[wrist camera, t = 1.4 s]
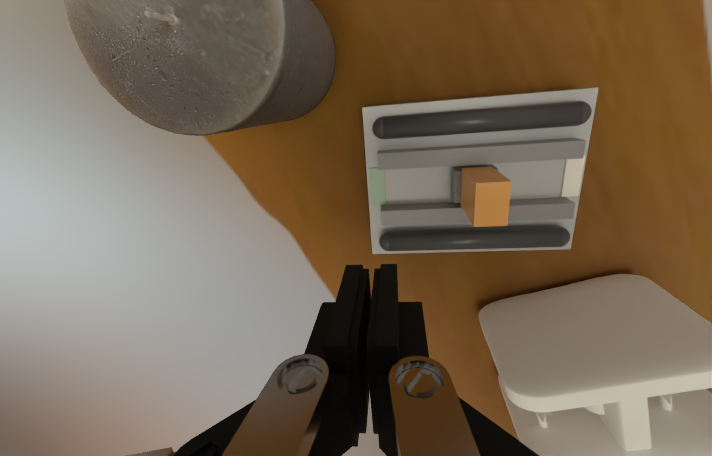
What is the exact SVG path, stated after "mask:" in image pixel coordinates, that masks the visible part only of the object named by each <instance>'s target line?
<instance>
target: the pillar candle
mask: <svg viewBox="0 0 712 456" xmlns="http://www.w3.org/2000/svg"><path fill="white" fill-rule="evenodd" d="M64 1H65V4H66V9H67V14H68V18H69V21H70V26H71V28H72V31H73V33H74V36H75V38H76V41H77V43H78V45H79V47H80V50H81V52H82V54H83V55H84V57H85V59H86V61H87V63H88V65H89V67H90V69H91V70H92V71H93V73H94V74H95V75H96V77H97V79H98V81H99V82H100V84H101V85H102V86H103V87H104V88H106V90H107V91H108V92H109V93H110V94H111V95H112V96H113V97H114V98H115V99H116V100H117V101H118V102H119V103H121V105H122V106H124V107H125V108H126V109H127V110H128V111H130V112H131V113H132V114H134V115H135V116H137V117H139V118H140V119H142V120H144V121H145V122H147V123H149V124H151V125H153V126H156V127H158V128H161V129H164V130H167V131H171V132H173V133H177V134H184V135H197V136H198V135H211V134H217V133H222V132H229V131H234V130H239V129H243V128H248V127H255V126H259V125H266V124H272V123H277V122H281V121H288V120H292V119H296V118H298V117H301V116H303V115H305V114H307V113H308V112H310V111H311V110H312V109H314V108H315V107H316V106H317V105H318V104H319V103H320V102H321V100H322V99H323V98H324V96H325V95H326V93H327V91H328V90H329V88H330V85H331V82H332V79H333V75H334V70H335V46H334V41H333V37H332V34H331V31H330V28H329V26H328V24H327V22H326V21H325V19H324V17H323V15H322V14H321V12H320V11H319V10H318V8H317V7H316V6H315V4H314V3H313V2H312V0H64Z"/></svg>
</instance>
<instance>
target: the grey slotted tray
mask: <svg viewBox="0 0 712 456" xmlns="http://www.w3.org/2000/svg"><path fill="white" fill-rule="evenodd" d="M597 94H598V88H580V89H566V90H554V91H542V92H530V93H518V94H506V95H494V96H483V97H471V98H459V99H447V100H435V101H423V102H411V103H399V104H387V105H375V106H365V107H362V112H363V126H364V140H365V155H366V169H367V183H368V198H369V212H370V227H371V241H372V254H394V253H435V252H476V251H517V250H557V249H571V244H572V238H573V232H574V226H575V221H576V215H577V209H578V203H579V198H580V192H581V186H582V180H583V175H584V169H585V163H586V157H587V152H588V146H589V140H590V134H591V129H592V123H593V117H594V111H595V106H596V100H597ZM485 165H494V166H495V167H496V168H498V172H499V173H501V174H502V175H504V176H505V177H506V178H508V179H509V180H510V181H512V182H511V193H510V203H509V214H508V225H507V226H487V227H473V225H472V223H471V222H470V220H469V218H468V217H467V215H466V213H465V212H464V210H463V208H462V207H461V203H453V201H452V199H451V172H452V167H467V166H485Z"/></svg>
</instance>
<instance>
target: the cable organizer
mask: <svg viewBox="0 0 712 456" xmlns="http://www.w3.org/2000/svg"><path fill="white" fill-rule="evenodd" d="M478 317H479V321H480V324H481V328H482V331H483V333H484V336H485V339H486V341H487V344H488V347H489V349H490V352H491V355H492V357H493V360H494V363H495V365H496V368H497V371H498V373H499V376H498V381H499V385H500V388H501V392H502V395H503V397H504V400H505V403H506V406H507V408H508V411H509V414H510V417H511V419H512V422H513V425H514V428H515V430H516V433H517V436H518V439H519V441H520V442H521V443H523V444H524V445H525V446H527V447H528V448H530V449H531V450H532V451H534V452H535V453H536V454H538V455H539V456H712V394H711V393H710V392H709V391H708V390H707V389H708V388H712V324H711V323H710V322H709V321H707V320H706V319H704V318H703V317H702V316H700V315H699V314H697V313H696V312H695V311H693V310H692V309H690V308H689V307H688V306H686V305H685V304H683V303H682V302H681V301H679V300H678V299H676V298H675V297H674V296H672V295H671V294H669V293H668V292H667V291H665V290H664V289H662V288H661V287H660V286H658V285H657V284H655V283H654V282H653V281H651V280H650V279H648V278H646V277H643V276H639V275H633V274H616V275H609V276H604V277H597V278H593V279H589V280H585V281H581V282H576V283H572V284H569V285H565V286H560V287H556V288H552V289H547V290H543V291H538V292H534V293H530V294H523V295H519V296H514V297H510V298H506V299H501V300H498V301H495V302H492V303H490V304H488V305H486V306H485V307H483V308H482V309H481V310H480V312H479V315H478Z"/></svg>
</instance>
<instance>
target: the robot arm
mask: <svg viewBox="0 0 712 456" xmlns="http://www.w3.org/2000/svg"><path fill="white" fill-rule="evenodd" d="M707 390H708V391H709V392H710V393H711V394H712V388H708V389H707ZM369 391H370V397H371V408H372V420H373V431H374V434H379V448H380V449H381V450H382V451H383V452H384V453H385V454H386V455H387V456H539V455H538V454H536V453H535V452H534V451H532V450H531V449H530V448H528V447H527V446H525V445H524V444H523V443H521V442H520V441H518V440H517V439H516V438H514V437H513V436H512V435H510V434H509V433H507V432H506V431H505V430H503V429H502V428H501V427H499V426H498V425H496V424H495V423H494V422H492V421H491V420H489V419H488V418H487V417H485V416H484V415H483V414H481V413H480V412H478V411H477V410H476V409H474V408H473V407H472V406H470V405H469V404H467V403H466V402H465V401H463V400H462V399H461V398H459V397H458V396H457V393H456V391H455V388H454V386H453V383H452V380H451V378H450V375H449V374H448V372H447V370H446V369H445V368H444V367H443V366H442V365H441V364H440V363H439V362H437V361H435V360H433V359H431V358H429V354H428V346H427V339H426V331H425V324H424V316H423V309H422V302H398V281H397V264H381V269H375V271H374V280H373V289H372V298H371V293H370V280H369V269H363V266H362V265H346V267H345V271H344V274H343V278H342V282H341V285H340V289H339V292H338V296H337V299H336V302H332V303H331V302H324V303H322V305H321V307H320V310H319V313H318V316H317V319H316V322H315V325H314V327H313V330H312V333H311V336H310V339H309V342H308V345H307V348H306V351H305V353H304V354H302V355H298V356H293V357H291V358H289V359H287V360H285V361H284V362H283V363H281V364H280V365H279V366H278V367H277V368H276V369H275V371H274V372H273V374H272V375H271V377H270V379H269V380H268V382H267V384H266V385H265V386H264V388H263V390H262V391H261V393H260V395H259V396H258V398H257V399H256V400H255V401H253V402H251V403H250V404H248V405H246V406H245V407H244V408H242V409H240V410H239V411H237V412H235V413H234V414H232V415H230V416H229V417H227V418H225V419H224V420H222V421H220V422H219V423H217V424H216V425H214V426H212V427H211V428H209V429H207V430H206V431H204V432H203V433H201V434H199V435H198V436H196V437H194V438H193V439H191V440H190V441H189V442H187V443H186V444H184V445H183V446H182V447H180V449H179V450H178V451H177V452H173V450H172V448H171V447H170V448H165V449H160V450H155V451H149V452H143V453H138V454H133V455H127V456H341V455H343V454H344V453H345V452H346V451H347V450H349V449H350V448H351V447H352V446H358V438H359V433H366V426H367V415H368V403H369Z"/></svg>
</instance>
